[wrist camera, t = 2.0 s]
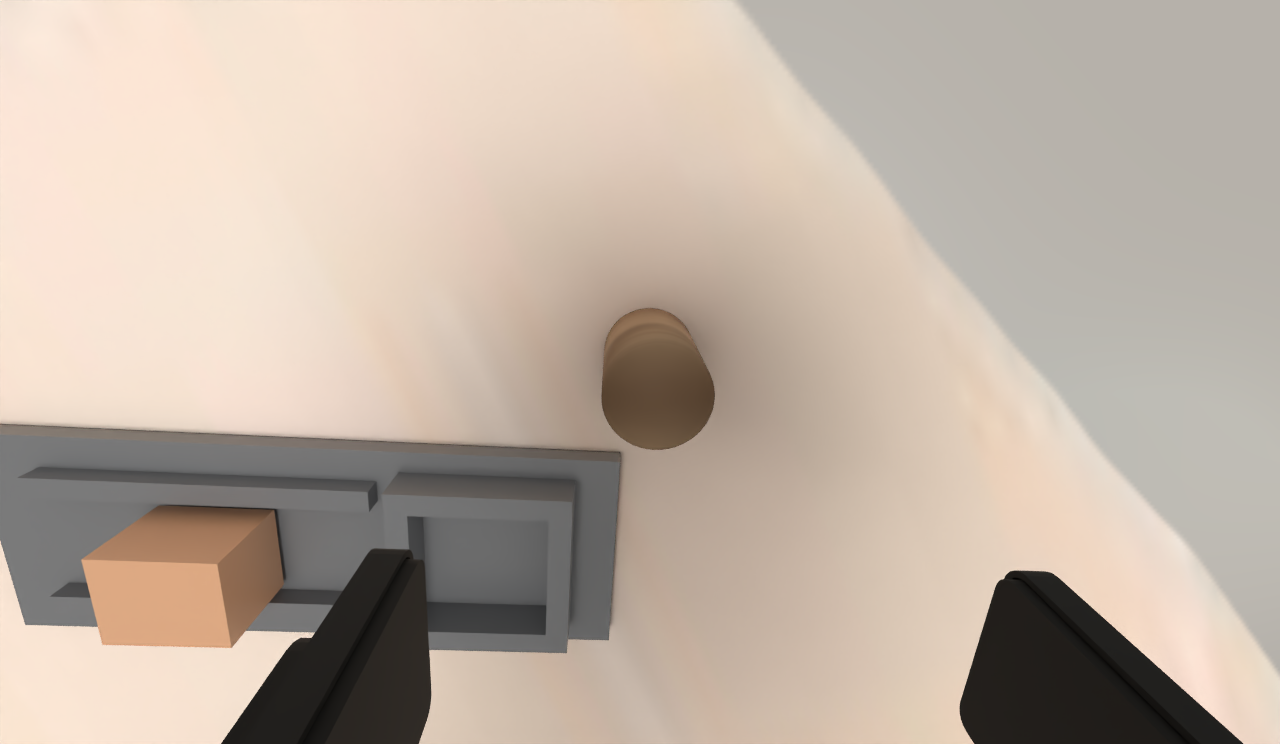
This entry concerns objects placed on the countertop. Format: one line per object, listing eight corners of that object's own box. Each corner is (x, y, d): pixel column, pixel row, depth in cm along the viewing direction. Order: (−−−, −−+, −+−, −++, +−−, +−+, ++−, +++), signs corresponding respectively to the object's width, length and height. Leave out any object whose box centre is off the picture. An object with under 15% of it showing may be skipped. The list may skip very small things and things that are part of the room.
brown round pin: (688, 395, 27) (708, 452, 21) (602, 391, 27) (598, 447, 21) (697, 311, 26) (720, 346, 20) (606, 305, 26) (604, 340, 20)
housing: (608, 626, 31) (608, 670, 28) (44, 610, 29) (-18, 656, 26) (619, 452, 28) (620, 483, 25) (-8, 424, 26) (-85, 453, 23)
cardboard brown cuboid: (284, 584, 28) (231, 647, 24) (173, 580, 27) (102, 644, 24) (274, 509, 27) (217, 564, 23) (158, 505, 26) (81, 559, 22)
